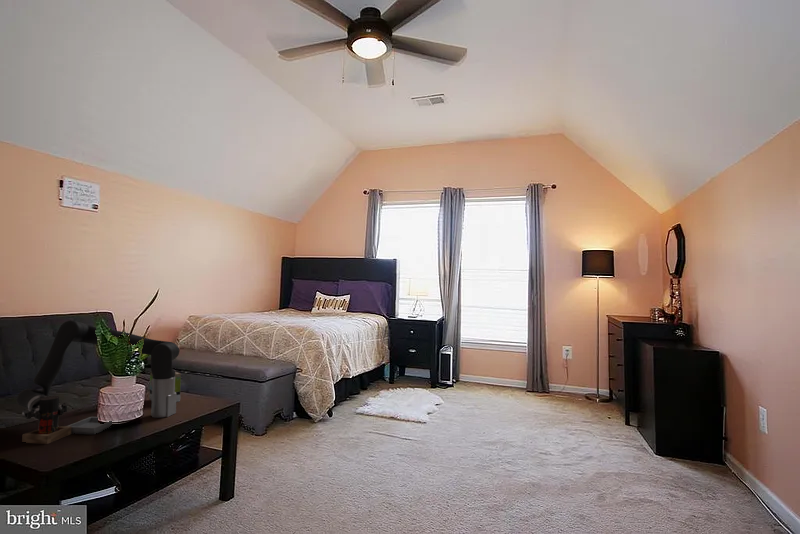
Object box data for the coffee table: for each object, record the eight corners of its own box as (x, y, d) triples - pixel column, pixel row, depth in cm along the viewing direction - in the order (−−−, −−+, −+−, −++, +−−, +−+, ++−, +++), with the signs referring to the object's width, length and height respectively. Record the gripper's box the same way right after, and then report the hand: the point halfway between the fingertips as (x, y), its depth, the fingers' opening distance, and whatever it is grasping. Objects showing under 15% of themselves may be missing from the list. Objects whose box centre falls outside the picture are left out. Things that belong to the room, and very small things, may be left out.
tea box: (148, 400, 219) (149, 371, 219) (168, 396, 226) (169, 368, 227) (159, 405, 209) (160, 375, 210) (180, 401, 217) (181, 372, 217)
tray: (118, 423, 182) (118, 417, 182) (94, 434, 169) (94, 428, 169) (90, 422, 183) (90, 416, 183) (64, 433, 170) (64, 426, 170)
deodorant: (34, 437, 163) (36, 398, 163) (53, 432, 168) (54, 395, 169) (42, 440, 160) (44, 400, 160) (60, 435, 165) (62, 397, 166)
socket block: (71, 434, 169) (71, 426, 169) (47, 443, 158) (47, 435, 158) (47, 432, 170) (47, 425, 170) (22, 442, 159) (22, 434, 159)
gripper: (18, 400, 168) (26, 409, 157) (63, 393, 179) (73, 401, 168) (17, 419, 168) (25, 429, 157) (62, 411, 179) (73, 419, 168)
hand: (50, 414), depth 163 cm, fingers closed on deodorant, 6 cm apart
